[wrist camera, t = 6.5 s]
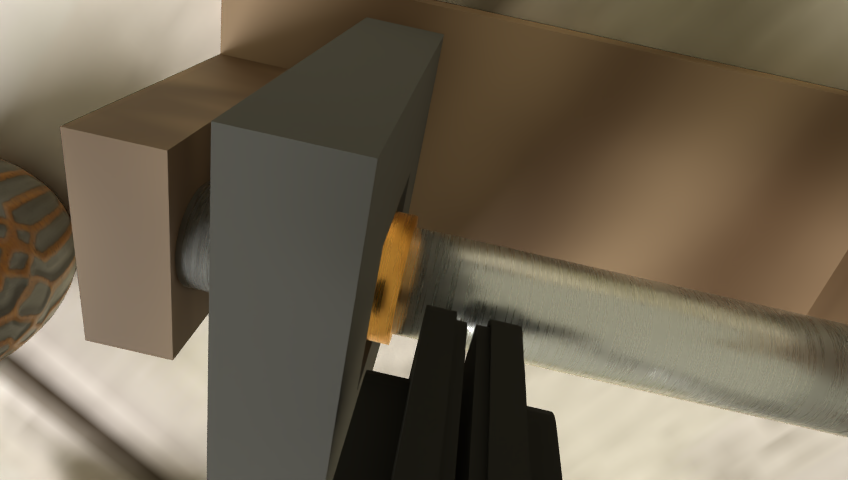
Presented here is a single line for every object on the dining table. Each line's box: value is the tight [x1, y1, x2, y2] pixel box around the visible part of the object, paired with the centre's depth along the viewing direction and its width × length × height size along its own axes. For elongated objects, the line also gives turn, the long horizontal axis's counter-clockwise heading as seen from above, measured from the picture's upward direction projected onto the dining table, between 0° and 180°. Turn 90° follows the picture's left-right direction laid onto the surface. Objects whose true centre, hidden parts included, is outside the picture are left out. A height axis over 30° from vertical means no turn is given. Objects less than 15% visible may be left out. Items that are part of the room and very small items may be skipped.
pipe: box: [175, 181, 848, 437], centre depth 13 cm, size 18×3×3 cm, turn 79°
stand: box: [60, 0, 848, 360], centre depth 15 cm, size 21×10×8 cm, turn 79°
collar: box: [207, 17, 444, 480], centre depth 13 cm, size 2×9×9 cm, turn 169°
